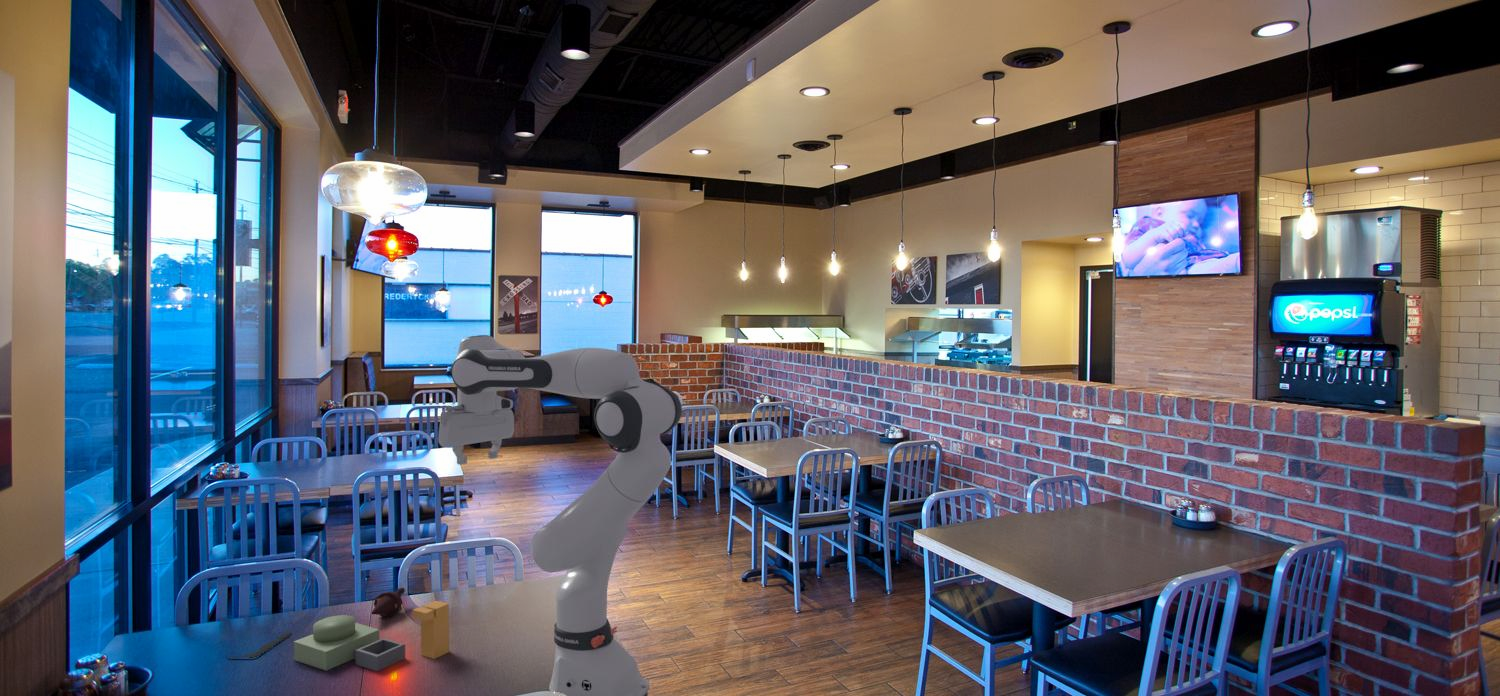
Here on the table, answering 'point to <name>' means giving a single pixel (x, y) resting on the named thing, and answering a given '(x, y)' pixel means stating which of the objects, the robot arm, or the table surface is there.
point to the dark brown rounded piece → (388, 603)
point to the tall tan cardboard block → (433, 628)
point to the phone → (266, 646)
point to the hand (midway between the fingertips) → (477, 461)
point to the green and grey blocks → (346, 645)
